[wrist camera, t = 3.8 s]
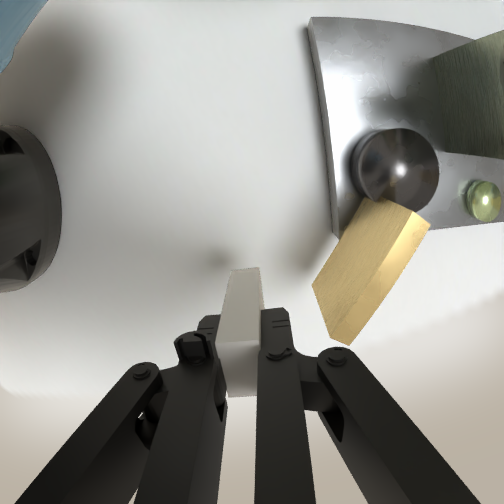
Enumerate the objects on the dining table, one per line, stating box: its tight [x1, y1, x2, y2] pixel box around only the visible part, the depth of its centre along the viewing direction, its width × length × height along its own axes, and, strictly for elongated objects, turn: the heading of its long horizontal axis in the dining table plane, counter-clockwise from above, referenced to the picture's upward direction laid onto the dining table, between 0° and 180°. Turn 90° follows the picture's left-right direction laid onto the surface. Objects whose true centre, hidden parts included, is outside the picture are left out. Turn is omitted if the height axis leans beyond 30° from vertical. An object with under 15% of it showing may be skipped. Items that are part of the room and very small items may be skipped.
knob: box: [312, 128, 439, 346], centre depth 15 cm, size 12×5×6 cm, turn 152°
